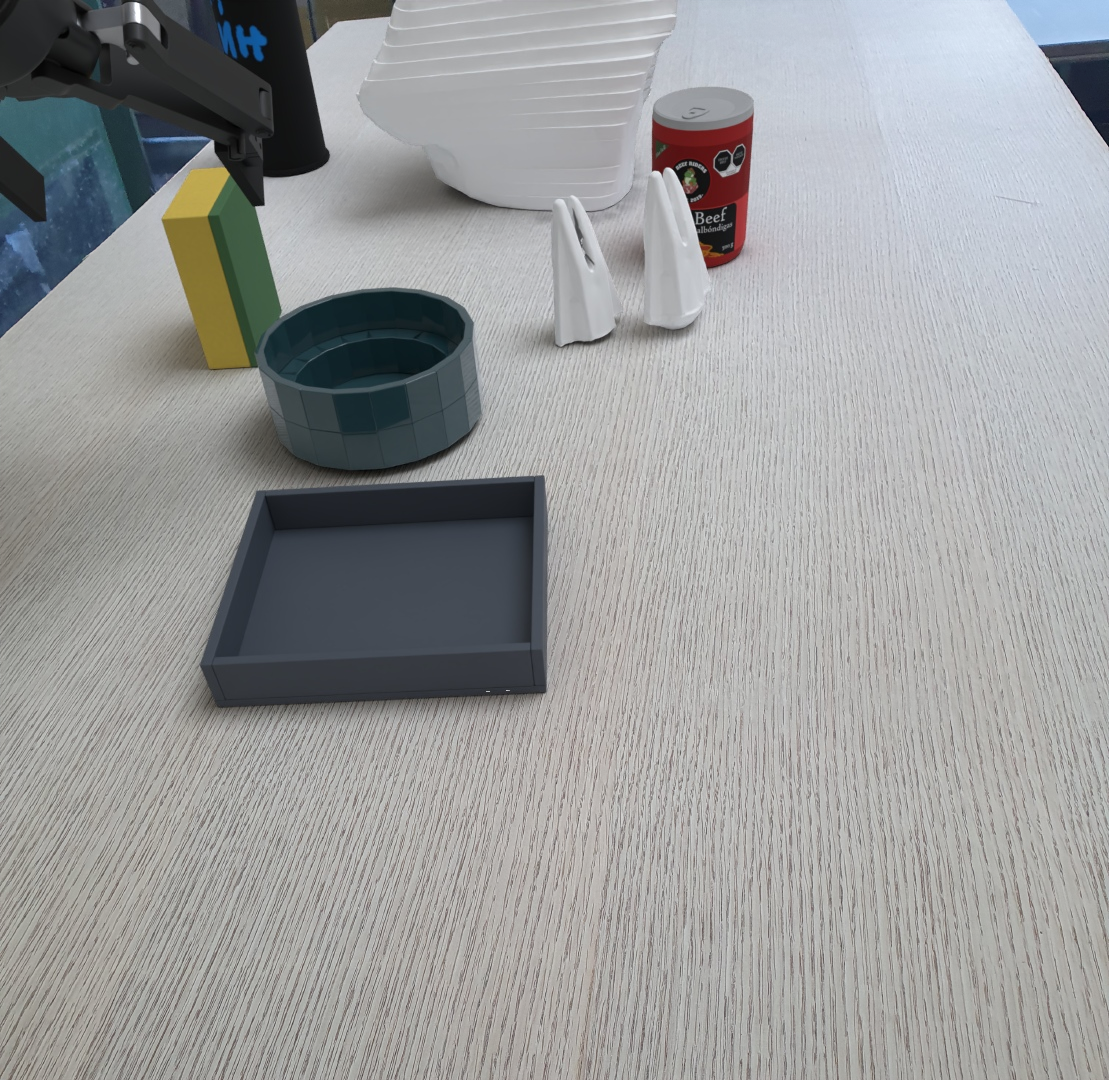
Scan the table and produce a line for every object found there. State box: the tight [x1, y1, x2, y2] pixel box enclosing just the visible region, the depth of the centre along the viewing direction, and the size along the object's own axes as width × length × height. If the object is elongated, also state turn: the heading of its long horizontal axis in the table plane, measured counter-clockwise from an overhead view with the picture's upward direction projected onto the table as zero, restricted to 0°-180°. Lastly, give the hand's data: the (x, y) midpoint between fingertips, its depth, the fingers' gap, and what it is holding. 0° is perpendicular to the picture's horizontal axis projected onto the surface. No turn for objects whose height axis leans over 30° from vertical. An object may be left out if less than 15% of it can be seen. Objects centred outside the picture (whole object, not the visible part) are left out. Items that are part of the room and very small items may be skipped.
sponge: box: [161, 166, 283, 370], centre depth 80 cm, size 4×9×11 cm, turn 0°
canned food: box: [651, 86, 755, 268], centre depth 86 cm, size 8×8×11 cm
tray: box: [199, 474, 549, 708], centre depth 60 cm, size 17×15×3 cm
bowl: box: [254, 286, 484, 471], centre depth 72 cm, size 14×14×6 cm
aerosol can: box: [209, 0, 331, 177], centre depth 103 cm, size 8×8×20 cm
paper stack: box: [355, 0, 678, 212], centre depth 94 cm, size 21×27×26 cm
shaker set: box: [550, 168, 713, 348], centre depth 77 cm, size 12×4×11 cm, turn 93°
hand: (148, 191), depth 66 cm, fingers open, 13 cm apart
